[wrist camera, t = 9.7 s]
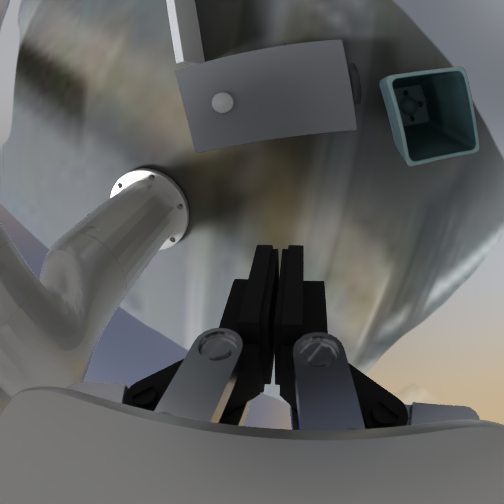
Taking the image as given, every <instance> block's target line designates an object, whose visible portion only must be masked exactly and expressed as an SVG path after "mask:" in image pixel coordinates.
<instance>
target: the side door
mask: <svg viewBox="0 0 504 504" xmlns="http://www.w3.org/2000/svg"><path fill="white" fill-rule="evenodd" d="M166 1H167V8H168V15H169V21H170V28H171V34H172V40H173V47H174V53H175V58H176V63H179V64H188V65H196V64H200V63H203V62H205V59H204V53H203V47H202V41H201V35H200V29H199V23H198V17H197V10H196V4H195V0H166Z"/></svg>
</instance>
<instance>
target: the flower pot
mask: <svg viewBox="0 0 504 504" xmlns="http://www.w3.org/2000/svg"><path fill="white" fill-rule="evenodd" d="M379 86H380V89H381V93H382V96H383V99H384V103H385V106H386V110H387V114H388V117H389V121H390V126H391V130H392V134H393V139H394V143H395V146H396V148H397V149H398V151H399V153H400V154H401V155H402V157H403V158H404V160H405V161H406V163H407V164H408V165H409V166H416V165H420V164H424V163H428V162H432V161H437V160H441V159H446V158H450V157H455V156H461V155H466V154H472V153H476V152H478V151H479V139H478V132H477V125H476V119H475V113H474V107H473V102H472V97H471V92H470V88H469V82H468V78H467V74H466V71H465V69H464V68H463V67H451V68H442V69H433V70H425V71H417V72H410V73H403V74H395V75H390V76H387V77H385V78H383V79H381V80H380V82H379ZM403 91H406V92H407V94H406V95H404V94H403ZM418 102H421V106H419V105H418ZM410 117H413V120H412V121H411V120H410V119H409V118H410Z"/></svg>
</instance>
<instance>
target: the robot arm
mask: <svg viewBox="0 0 504 504" xmlns="http://www.w3.org/2000/svg"><path fill="white" fill-rule="evenodd" d="M153 175H154V176H155V177H154V176H153ZM181 204H182V205H181ZM188 223H189V208H188V204H187V200H186V198H185V196H184V194H183V192H182V190H181V189H180V187H179V186H178V185H177V184H176V183H175V182H174V181H173V180H172V179H171V178H170V177H168V176H167V175H166V174H164V173H162V172H160V171H157V170H154V169H149V168H140V169H135V170H132V171H130V172H128V173H126V174H125V175H123V176H122V177H121V178H120V179H119V180H118V181H117V182H116V184H115V185H114V187H113V189H112V192H111V197H110V199H108V200H107V201H106V202H104V203H103V204H102V205H101V206H99V207H98V208H97V209H95V210H94V211H93V212H92V213H90V214H88V215H87V217H85V218H84V219H83V220H82V221H80V222H79V223H78V224H77V225H75V226H74V227H73V228H72V229H71V230H69V231H68V232H67V233H66V234H65V235H63V236H62V237H61V238H60V239H59V240H58V241H57V242H55V244H54V245H53V246H52V247H51V249H50V250H49V252H48V253H47V255H46V258H45V260H44V262H43V266H42V269H41V274H40V279H39V280H38V278H37V277H36V276H35V274H34V273H33V271H32V270H31V268H30V267H29V266H28V264H27V263H26V261H25V260H24V258H23V257H22V255H21V254H20V252H19V251H18V249H17V247H16V246H15V244H14V243H13V241H12V240H11V238H10V237H9V235H8V233H7V232H6V230H5V229H4V227H3V226H2V224H1V223H0V504H504V425H502V424H499V423H495V422H491V421H485V420H479V416H478V415H477V413H476V412H475V411H474V410H473V409H471V408H470V407H466V406H452V405H438V404H426V403H416V402H413V403H412V405H406V404H404V403H403V402H402V401H401V400H399V399H398V398H397V397H395V396H394V395H393V394H391V393H390V392H388V391H387V390H385V389H384V388H383V387H381V386H380V385H378V384H377V383H376V382H374V381H373V380H371V379H370V378H369V377H367V376H366V375H364V374H363V373H362V372H360V371H359V370H358V369H356V368H355V367H353V366H352V365H351V364H349V363H348V360H347V357H346V353H345V350H344V347H343V345H342V343H341V342H340V341H339V340H338V339H337V338H336V337H334V336H332V335H331V334H328V331H327V314H326V299H325V287H324V281H303V246H300V245H289V246H288V249H283V250H282V259H281V268H280V277H279V257H278V249H273V246H272V245H257V248H256V252H255V256H254V259H253V263H252V267H251V271H250V275H249V279H235V280H234V282H233V285H232V288H231V291H230V294H229V297H228V301H227V304H226V307H225V310H224V313H223V316H222V320H221V323H220V326H219V328H214V329H210V330H208V331H205V332H203V333H202V334H201V335H199V336H198V337H197V339H196V340H195V341H194V343H193V345H192V346H191V348H190V350H189V352H188V353H187V355H186V357H185V358H184V359H182V360H181V361H178V362H176V363H174V364H173V365H171V366H169V367H167V368H165V369H163V370H161V371H159V372H157V373H155V374H152V375H150V376H148V377H146V378H144V379H142V380H140V381H138V382H136V383H135V384H133V385H132V386H131V387H127V385H126V384H119V383H91V382H83V381H84V378H85V376H86V373H87V371H88V368H89V364H90V362H91V358H92V355H93V353H94V350H95V348H96V345H97V343H98V340H99V338H100V336H101V334H102V332H103V330H104V328H105V327H106V324H107V323H108V321H109V320H110V318H111V317H112V315H113V313H114V312H115V310H116V309H117V307H118V306H119V304H120V303H121V302H122V300H123V299H124V297H125V296H126V295H127V293H128V292H129V290H130V289H131V287H132V286H133V285H134V283H135V282H136V280H137V279H138V278H139V276H140V275H141V273H142V272H143V271H144V269H145V268H146V267H147V265H148V264H149V263H150V261H151V260H152V258H153V257H154V256H155V254H156V253H157V252H158V250H164V249H168V248H170V247H172V246H174V245H175V244H176V243H178V242H179V240H180V239H181V238H182V237H183V235H184V233H185V232H186V230H187V227H188ZM274 353H275V385H280V396H281V397H282V398H283V399H284V400H286V401H287V402H288V403H289V404H290V416H291V427H292V430H285V429H269V428H256V427H245V426H243V424H244V421H245V418H246V416H247V413H248V410H249V408H250V404H251V400H252V399H253V398H255V397H256V396H258V395H259V394H260V392H264V386H265V384H271V377H272V369H273V361H274Z"/></svg>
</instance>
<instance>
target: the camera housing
mask: <svg viewBox="0 0 504 504" xmlns="http://www.w3.org/2000/svg"><path fill="white" fill-rule="evenodd" d="M175 72H176V76H177V80H178V84H179V88H180V92H181V96H182V100H183V104H184V108H185V112H186V116H187V120H188V124H189V128H190V132H191V136H192V140H193V144H194V148H195V151H196V153H200V152H205V151H210V150H215V149H220V148H225V147H230V146H236V145H241V144H247V143H253V142H259V141H265V140H272V139H278V138H286V137H293V136H301V135H309V134H318V133H328V132H338V131H350V130H357V125H356V117H355V110H354V104H360V103H361V85H360V79H359V75H358V72H357V69H356V66H355V65H354V64H347V62H346V57H345V52H344V47H343V42H342V39H340V40H325V41H315V42H305V43H297V44H289V45H283V46H276V47H270V48H264V49H259V50H254V51H249V52H244V53H239V54H235V55H231V56H226V57H222V58H218V59H214V60H211V61H207V62H203V63H200V64H196V65H193V66H189V67H186V68H183V69H180V70H177V71H175Z"/></svg>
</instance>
